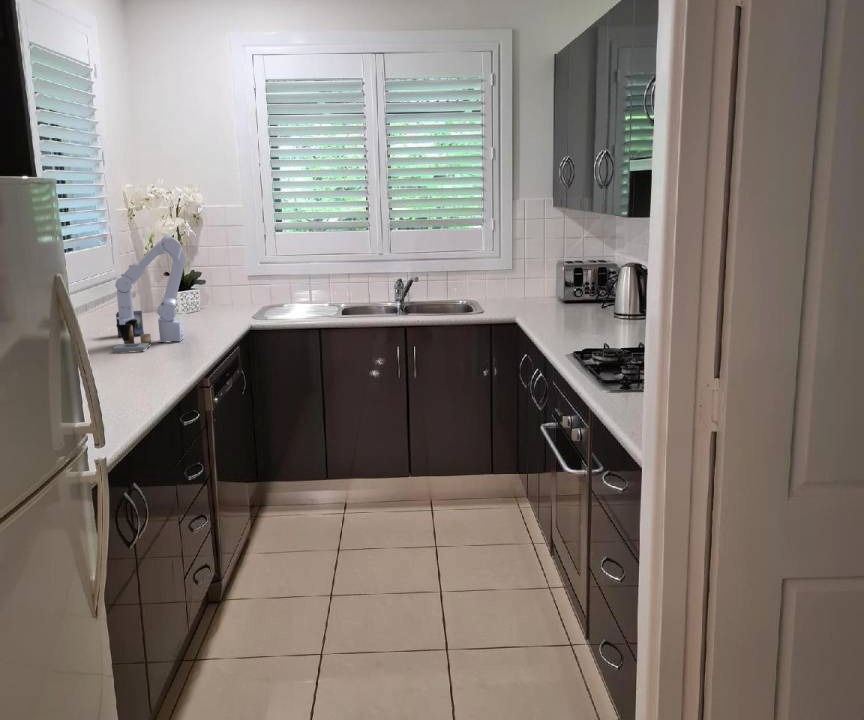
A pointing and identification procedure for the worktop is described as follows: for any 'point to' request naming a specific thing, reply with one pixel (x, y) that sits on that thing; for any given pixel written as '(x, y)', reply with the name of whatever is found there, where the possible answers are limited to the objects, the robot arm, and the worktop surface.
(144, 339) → the short dowel
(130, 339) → the long dowel
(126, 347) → the board
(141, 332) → the small box
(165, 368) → the worktop surface
